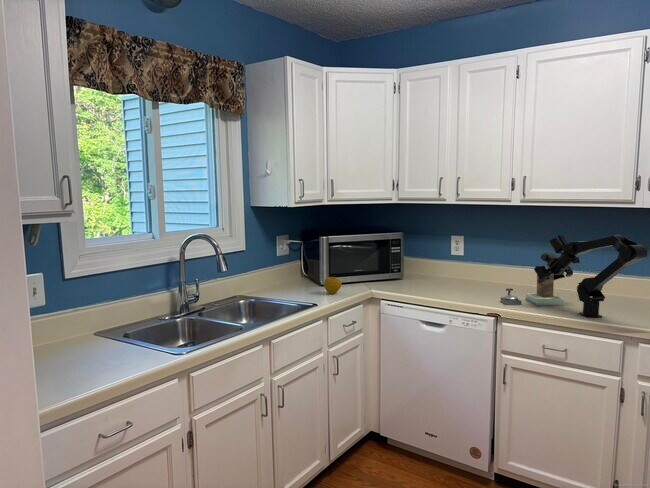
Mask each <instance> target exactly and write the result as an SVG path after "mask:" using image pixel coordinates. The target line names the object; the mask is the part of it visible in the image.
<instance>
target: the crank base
mask: <svg viewBox="0 0 650 488" xmlns="http://www.w3.org/2000/svg"><path fill="white" fill-rule="evenodd" d="M500 302H501V303H503V304H504V305H506V306H521V305H522V303H523V302H522V299H519V298H518V300H507V299H504V296H502V297H500Z"/></svg>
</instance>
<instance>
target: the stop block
mask: <svg viewBox="0 0 650 488" xmlns="http://www.w3.org/2000/svg"><path fill="white" fill-rule="evenodd" d="M545 268H546V269H547V268H548V267H545ZM549 278H550V279H548V280H546V281H543V282H541V283H539V282H538V279H539V277H538V275H537V274H536V293H537V296H540V297H544V298H547V297H553V294H554V282H555V280H554V274H551V275H550V276H549Z"/></svg>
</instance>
